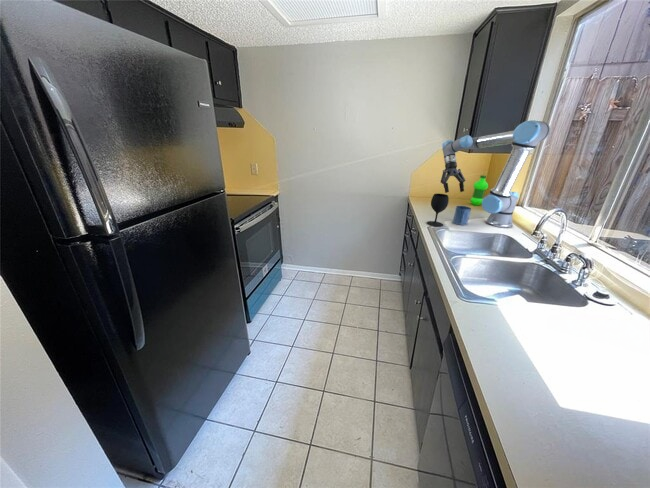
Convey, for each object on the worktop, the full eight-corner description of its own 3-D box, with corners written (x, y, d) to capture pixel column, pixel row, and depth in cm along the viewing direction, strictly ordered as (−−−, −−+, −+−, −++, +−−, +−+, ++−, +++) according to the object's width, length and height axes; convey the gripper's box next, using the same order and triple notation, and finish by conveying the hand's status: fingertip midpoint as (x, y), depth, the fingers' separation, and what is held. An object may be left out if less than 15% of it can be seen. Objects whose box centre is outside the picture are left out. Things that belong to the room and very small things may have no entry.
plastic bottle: (466, 203, 229) (473, 174, 219) (477, 203, 230) (485, 174, 220) (473, 206, 220) (481, 176, 210) (484, 206, 221) (493, 176, 211)
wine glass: (444, 227, 169) (451, 197, 161) (428, 225, 170) (434, 196, 162) (441, 222, 178) (447, 193, 170) (425, 221, 180) (431, 192, 172)
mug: (452, 220, 183) (456, 205, 179) (466, 222, 180) (470, 206, 176) (453, 225, 173) (456, 209, 168) (467, 227, 170) (472, 211, 165)
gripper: (460, 164, 191) (464, 192, 190) (432, 164, 183) (436, 194, 183) (468, 160, 184) (472, 189, 183) (440, 160, 176) (444, 191, 175)
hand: (454, 192), depth 183 cm, fingers open, 13 cm apart
